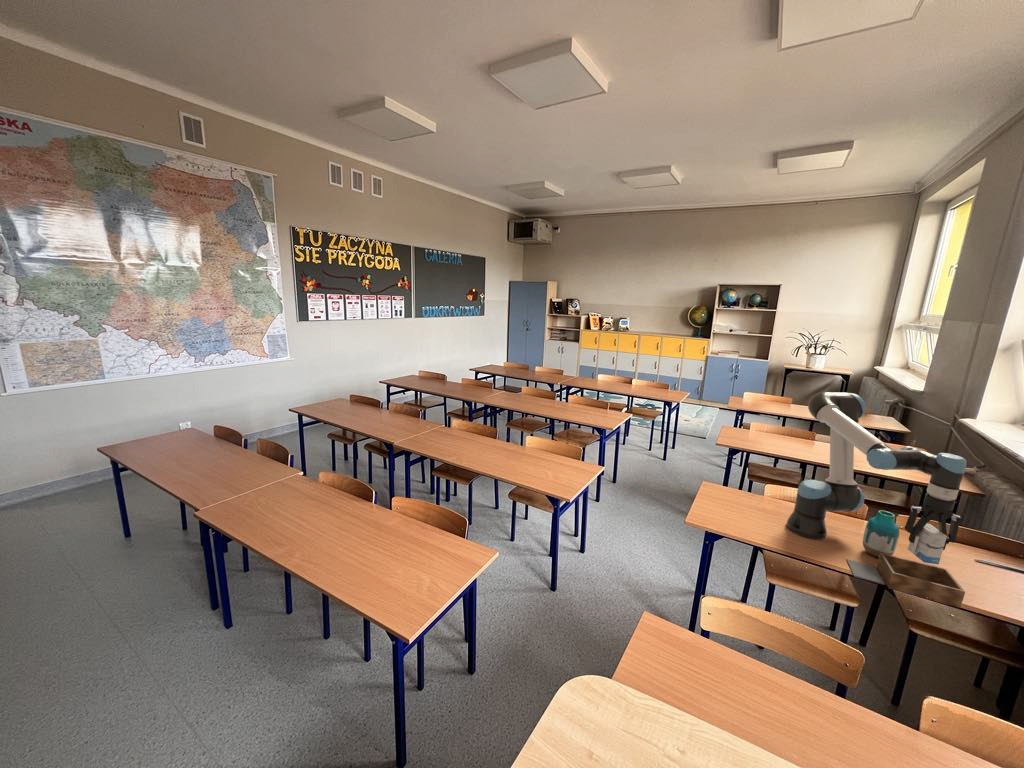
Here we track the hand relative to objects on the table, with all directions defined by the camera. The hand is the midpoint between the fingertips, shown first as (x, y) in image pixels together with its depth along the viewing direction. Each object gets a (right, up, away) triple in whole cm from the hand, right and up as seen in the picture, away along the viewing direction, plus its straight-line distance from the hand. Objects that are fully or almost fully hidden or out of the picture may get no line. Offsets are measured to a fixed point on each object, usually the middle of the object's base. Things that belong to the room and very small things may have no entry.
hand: (923, 553), depth 155 cm
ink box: (0, -2, 0) cm, 2 cm away
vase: (+1, -10, +22) cm, 24 cm away
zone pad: (-14, -11, +10) cm, 20 cm away
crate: (-1, -13, +2) cm, 14 cm away
